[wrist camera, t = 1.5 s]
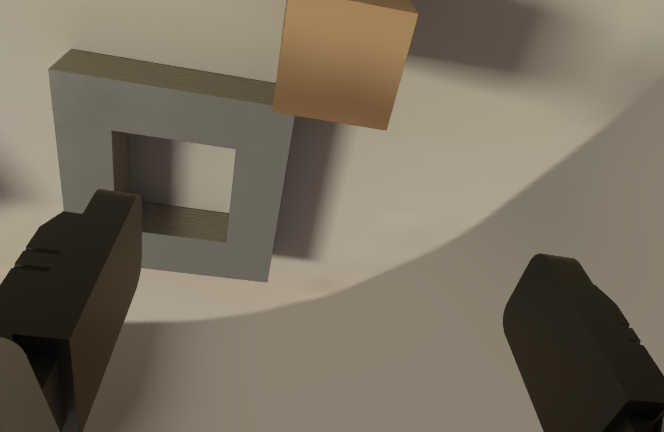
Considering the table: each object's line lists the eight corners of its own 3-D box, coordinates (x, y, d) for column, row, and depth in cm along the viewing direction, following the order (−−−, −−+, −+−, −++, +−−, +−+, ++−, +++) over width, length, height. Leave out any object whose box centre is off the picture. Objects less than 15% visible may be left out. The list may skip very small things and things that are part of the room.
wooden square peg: (295, -59, 26) (289, -12, 18) (383, -41, 26) (418, 13, 18) (282, 33, 28) (272, 112, 20) (363, 47, 29) (386, 130, 21)
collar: (70, 49, 28) (48, 69, 26) (296, 87, 30) (295, 109, 27) (86, 229, 35) (69, 259, 32) (269, 252, 37) (267, 282, 34)
